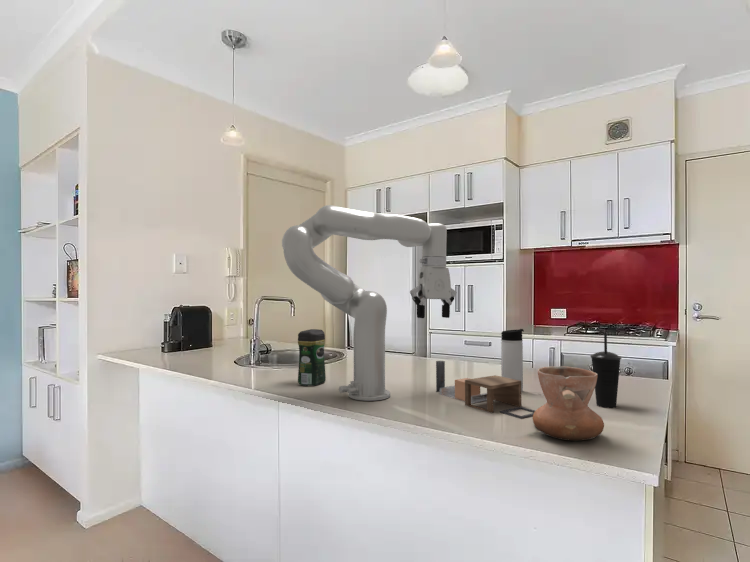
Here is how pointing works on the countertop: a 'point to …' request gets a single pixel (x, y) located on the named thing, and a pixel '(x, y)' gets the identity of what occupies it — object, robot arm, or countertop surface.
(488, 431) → the countertop surface
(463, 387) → the block
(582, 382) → the ceramic jug
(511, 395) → the tunnel
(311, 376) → the coffee jar
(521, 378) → the travel mug
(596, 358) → the drinking cup
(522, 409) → the dark piece
